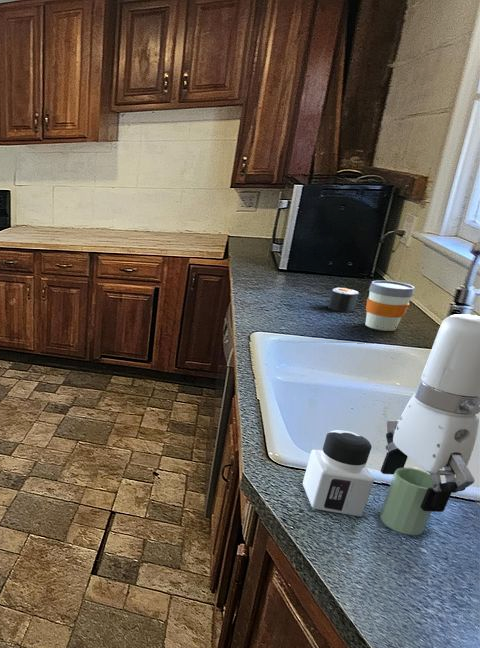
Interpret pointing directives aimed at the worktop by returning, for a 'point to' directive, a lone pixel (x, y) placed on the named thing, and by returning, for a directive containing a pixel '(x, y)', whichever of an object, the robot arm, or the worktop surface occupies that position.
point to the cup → (406, 501)
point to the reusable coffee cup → (387, 304)
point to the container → (339, 474)
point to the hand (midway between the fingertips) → (409, 490)
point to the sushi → (343, 299)
